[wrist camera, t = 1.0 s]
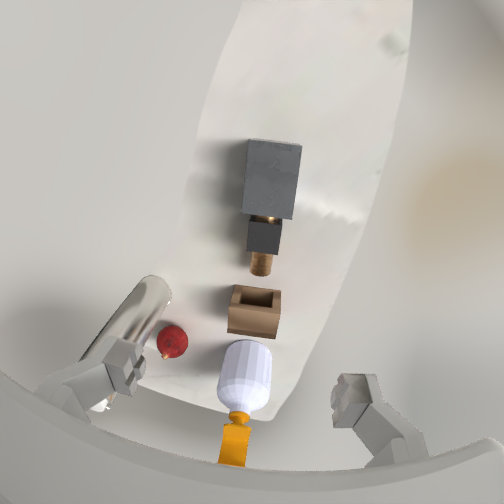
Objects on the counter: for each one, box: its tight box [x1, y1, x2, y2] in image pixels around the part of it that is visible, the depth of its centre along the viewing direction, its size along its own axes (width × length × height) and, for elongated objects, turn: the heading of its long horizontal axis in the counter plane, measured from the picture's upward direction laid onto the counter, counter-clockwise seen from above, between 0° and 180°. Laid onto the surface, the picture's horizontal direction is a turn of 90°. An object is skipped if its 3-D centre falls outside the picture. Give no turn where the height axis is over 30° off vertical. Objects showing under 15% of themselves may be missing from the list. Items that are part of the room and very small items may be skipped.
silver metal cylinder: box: [78, 276, 172, 412], centre depth 35 cm, size 6×6×25 cm
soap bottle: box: [217, 340, 272, 468], centre depth 40 cm, size 9×9×25 cm
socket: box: [227, 285, 281, 339], centre depth 42 cm, size 5×7×6 cm
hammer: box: [246, 215, 282, 276], centre depth 36 cm, size 17×4×6 cm, turn 174°
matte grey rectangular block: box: [242, 139, 302, 220], centre depth 34 cm, size 9×6×6 cm
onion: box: [156, 326, 188, 359], centre depth 46 cm, size 6×6×8 cm
